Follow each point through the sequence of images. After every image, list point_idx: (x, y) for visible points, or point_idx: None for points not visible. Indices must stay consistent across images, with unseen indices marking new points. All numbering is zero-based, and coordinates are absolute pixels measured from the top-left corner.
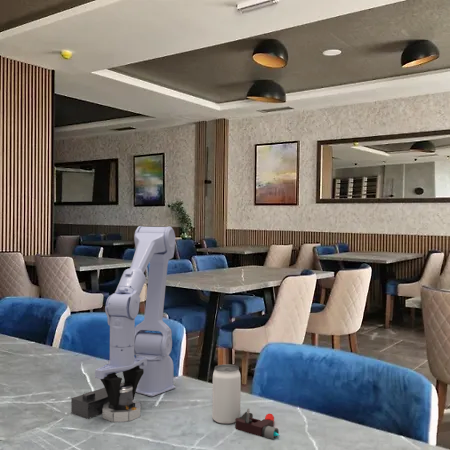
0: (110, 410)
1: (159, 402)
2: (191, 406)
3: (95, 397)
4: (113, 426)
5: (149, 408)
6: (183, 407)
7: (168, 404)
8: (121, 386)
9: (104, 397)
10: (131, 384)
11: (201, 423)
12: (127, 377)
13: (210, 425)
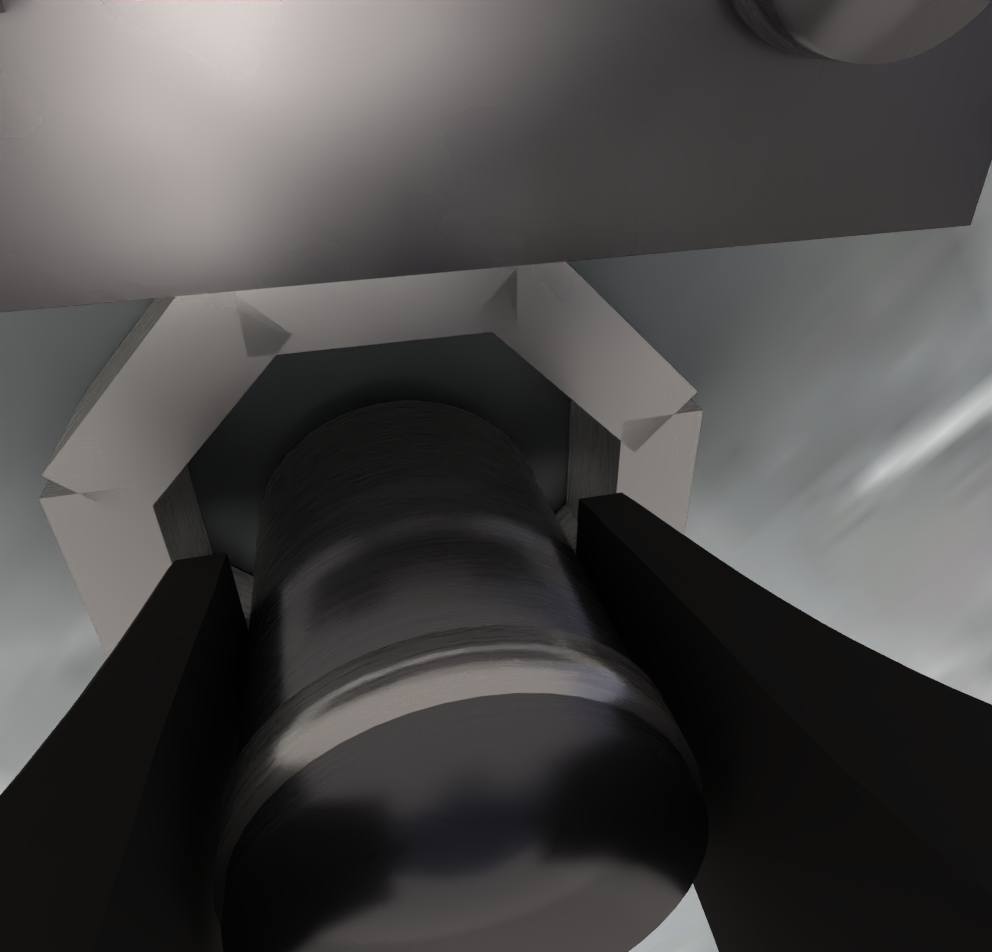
0: (129, 615)
1: (968, 430)
2: (957, 679)
3: (9, 51)
4: (84, 685)
5: (755, 504)
6: (913, 663)
7: (941, 535)
8: (394, 949)
9: (235, 265)
10: (626, 943)
11: (681, 911)
12: (817, 889)
13: (682, 944)
